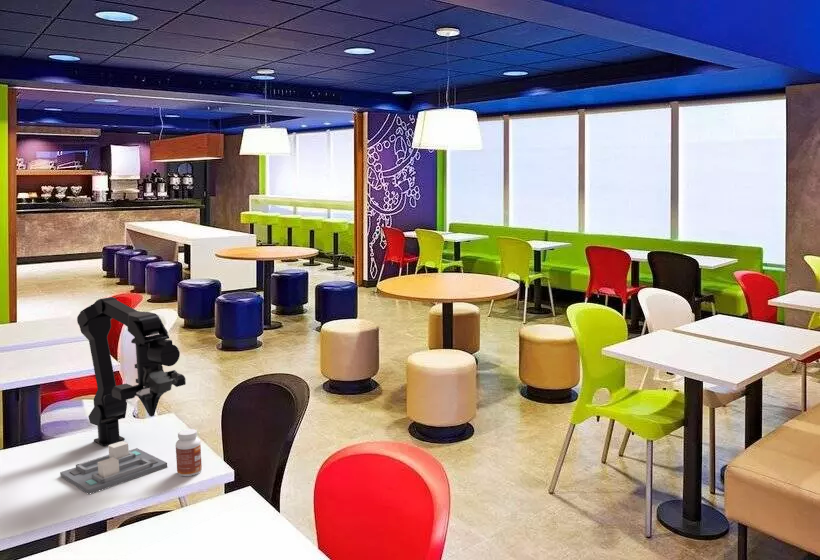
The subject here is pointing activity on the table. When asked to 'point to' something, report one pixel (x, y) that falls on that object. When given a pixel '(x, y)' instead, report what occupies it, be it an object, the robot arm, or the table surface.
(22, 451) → the table surface
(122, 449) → the tab
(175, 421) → the table surface
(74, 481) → the switch board
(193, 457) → the pill bottle
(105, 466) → the tab
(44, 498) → the table surface
